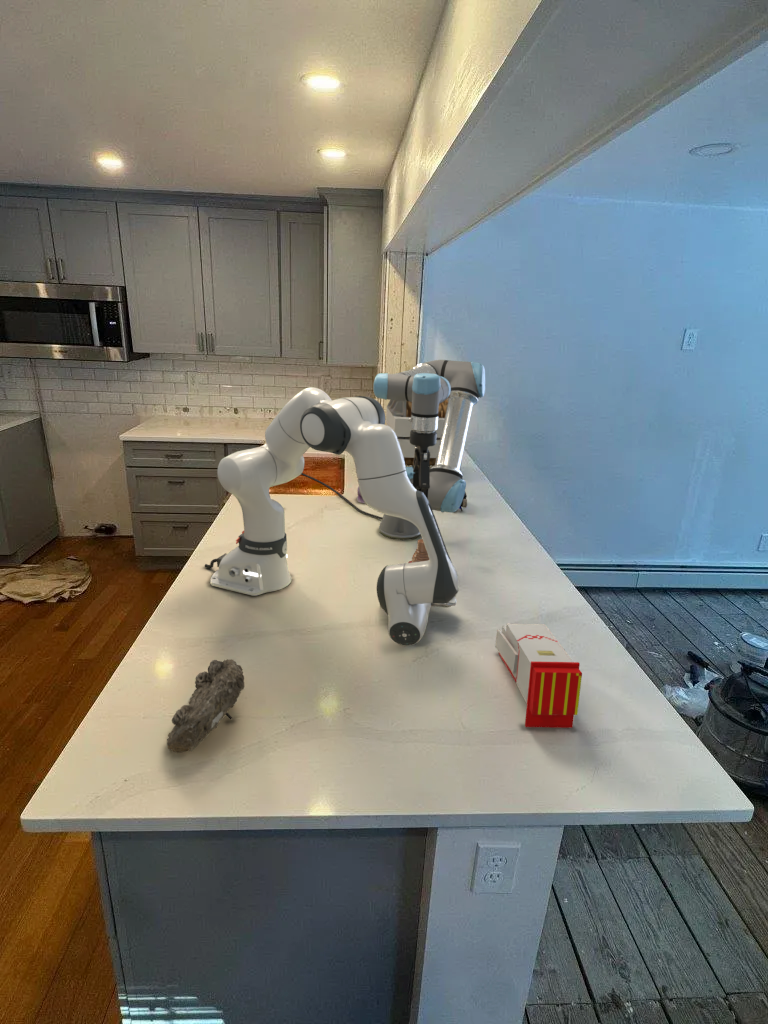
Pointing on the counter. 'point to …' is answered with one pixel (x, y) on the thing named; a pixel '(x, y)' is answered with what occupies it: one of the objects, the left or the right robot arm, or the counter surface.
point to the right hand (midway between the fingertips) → (419, 501)
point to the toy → (541, 674)
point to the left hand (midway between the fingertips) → (420, 577)
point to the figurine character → (463, 502)
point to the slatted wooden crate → (400, 424)
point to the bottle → (420, 552)
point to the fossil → (206, 705)
